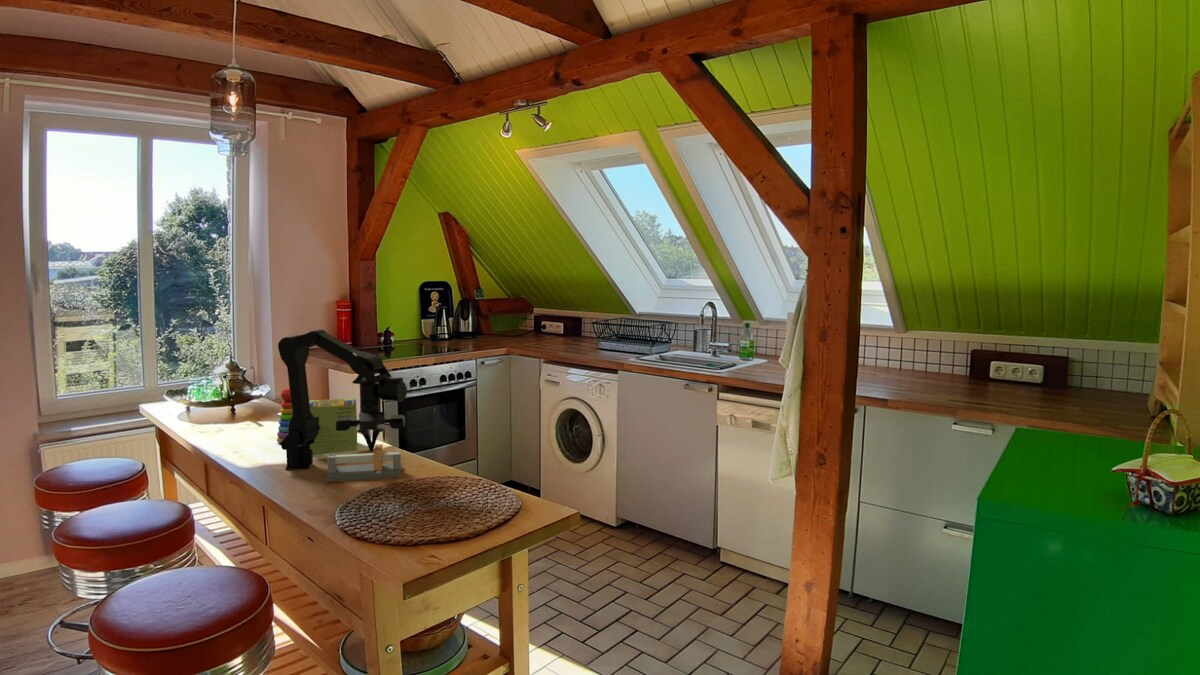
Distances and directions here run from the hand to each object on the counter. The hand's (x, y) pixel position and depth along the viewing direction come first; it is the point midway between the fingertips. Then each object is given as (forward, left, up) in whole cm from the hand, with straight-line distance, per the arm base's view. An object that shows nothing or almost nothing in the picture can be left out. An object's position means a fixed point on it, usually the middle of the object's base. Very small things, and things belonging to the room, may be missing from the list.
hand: (371, 451), depth 198 cm
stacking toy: (-30, +39, -7) cm, 50 cm away
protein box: (-15, +29, -7) cm, 33 cm away
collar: (+2, 0, -5) cm, 5 cm away
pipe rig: (-2, 0, -7) cm, 7 cm away
